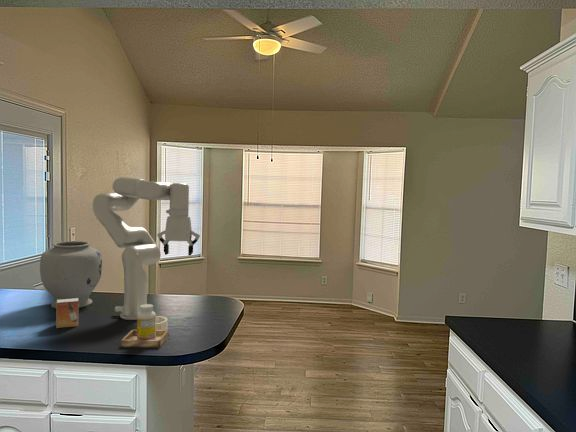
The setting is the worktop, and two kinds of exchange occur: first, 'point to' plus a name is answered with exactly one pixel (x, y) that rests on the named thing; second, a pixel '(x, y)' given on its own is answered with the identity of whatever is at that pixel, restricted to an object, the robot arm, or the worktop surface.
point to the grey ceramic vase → (71, 271)
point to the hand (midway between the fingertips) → (178, 254)
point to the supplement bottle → (146, 323)
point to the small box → (67, 313)
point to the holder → (161, 323)
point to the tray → (132, 341)
